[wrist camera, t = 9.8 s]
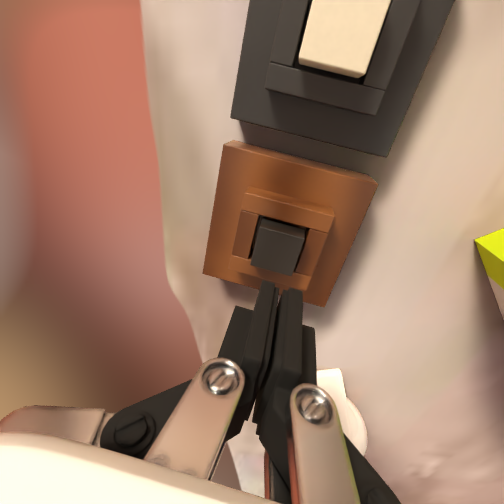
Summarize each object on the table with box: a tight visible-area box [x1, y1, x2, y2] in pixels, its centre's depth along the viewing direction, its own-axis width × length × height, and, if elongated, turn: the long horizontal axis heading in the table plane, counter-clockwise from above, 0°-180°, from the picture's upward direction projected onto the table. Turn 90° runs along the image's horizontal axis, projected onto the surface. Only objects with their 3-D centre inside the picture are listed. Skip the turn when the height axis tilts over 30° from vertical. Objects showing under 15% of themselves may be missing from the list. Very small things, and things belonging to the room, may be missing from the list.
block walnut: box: [203, 140, 378, 307], centre depth 20 cm, size 10×10×4 cm
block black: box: [230, 0, 455, 158], centre depth 15 cm, size 10×10×4 cm
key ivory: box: [299, 0, 391, 78], centre depth 13 cm, size 3×3×2 cm
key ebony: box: [250, 219, 305, 276], centre depth 18 cm, size 3×3×2 cm
